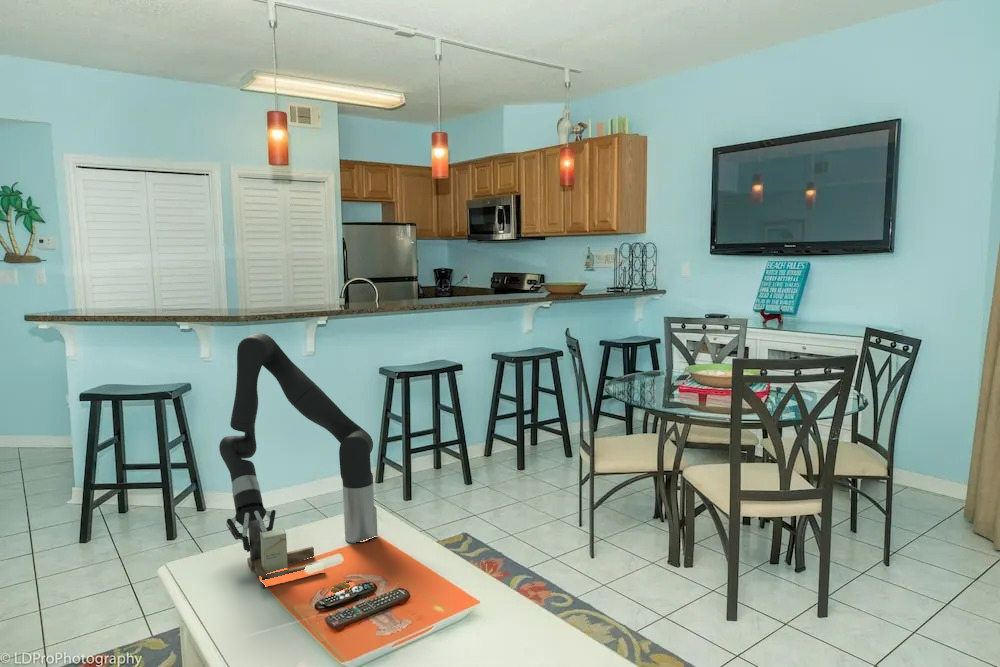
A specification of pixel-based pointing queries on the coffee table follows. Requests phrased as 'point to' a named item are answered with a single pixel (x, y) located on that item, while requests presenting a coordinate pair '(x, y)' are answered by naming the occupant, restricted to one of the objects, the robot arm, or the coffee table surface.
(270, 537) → the skincare box
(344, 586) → the pastry
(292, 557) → the brown frame
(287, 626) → the coffee table surface
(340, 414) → the robot arm
